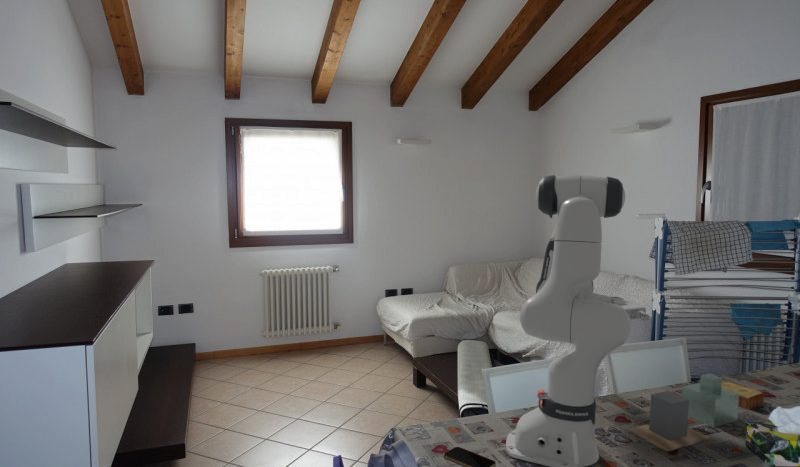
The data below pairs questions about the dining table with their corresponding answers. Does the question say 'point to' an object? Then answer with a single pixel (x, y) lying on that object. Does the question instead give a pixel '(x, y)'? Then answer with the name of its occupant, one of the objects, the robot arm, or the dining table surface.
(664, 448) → the mat
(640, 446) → the dining table surface
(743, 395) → the carton
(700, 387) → the grey-green block
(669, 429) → the grey rectangular block
